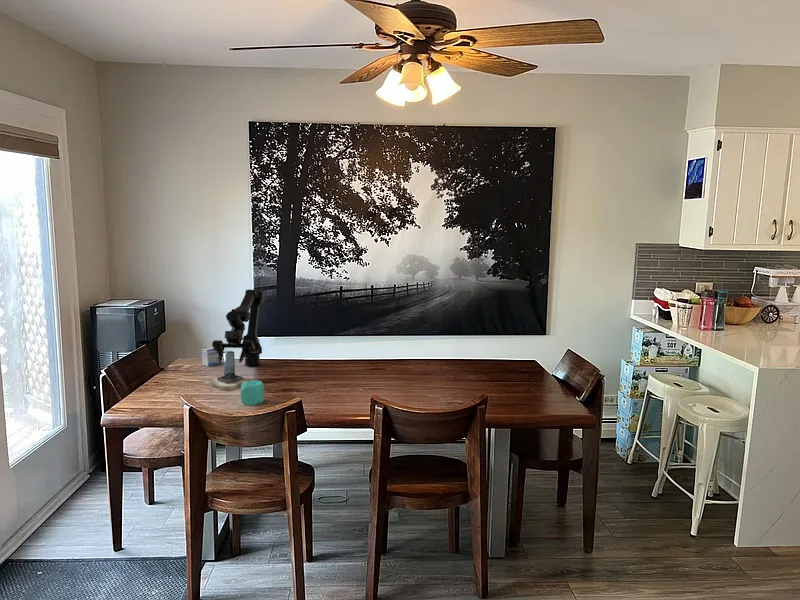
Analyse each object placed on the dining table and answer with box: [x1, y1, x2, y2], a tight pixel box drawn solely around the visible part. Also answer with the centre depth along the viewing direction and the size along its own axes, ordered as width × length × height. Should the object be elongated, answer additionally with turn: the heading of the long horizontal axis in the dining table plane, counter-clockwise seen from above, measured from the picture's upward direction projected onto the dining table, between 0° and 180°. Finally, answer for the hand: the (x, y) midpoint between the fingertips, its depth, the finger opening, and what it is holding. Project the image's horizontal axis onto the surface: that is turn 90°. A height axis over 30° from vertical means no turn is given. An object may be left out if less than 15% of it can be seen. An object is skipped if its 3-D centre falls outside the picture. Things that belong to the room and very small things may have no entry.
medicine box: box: [201, 346, 222, 367], centre depth 304 cm, size 8×4×9 cm, turn 143°
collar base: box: [203, 373, 256, 392], centre depth 270 cm, size 16×16×3 cm
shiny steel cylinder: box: [222, 350, 236, 380], centre depth 269 cm, size 5×5×13 cm
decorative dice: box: [240, 380, 265, 406], centre depth 243 cm, size 8×8×8 cm
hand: (229, 361), depth 270 cm, fingers open, 9 cm apart
